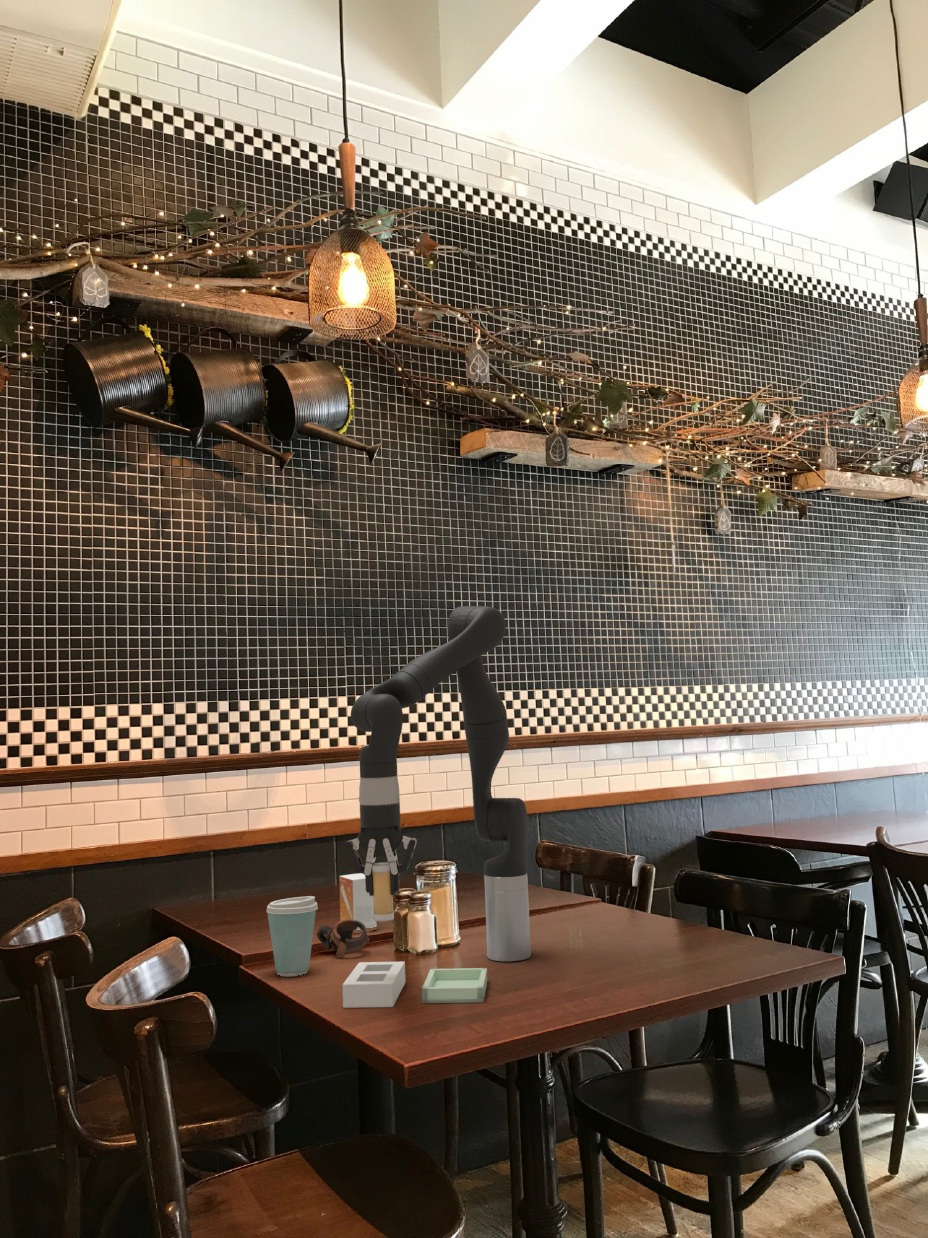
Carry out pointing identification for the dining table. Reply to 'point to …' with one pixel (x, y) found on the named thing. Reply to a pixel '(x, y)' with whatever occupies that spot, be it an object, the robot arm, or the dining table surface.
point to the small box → (356, 900)
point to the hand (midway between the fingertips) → (382, 894)
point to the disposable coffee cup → (292, 933)
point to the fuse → (382, 892)
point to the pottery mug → (343, 937)
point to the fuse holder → (374, 984)
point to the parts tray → (455, 985)
